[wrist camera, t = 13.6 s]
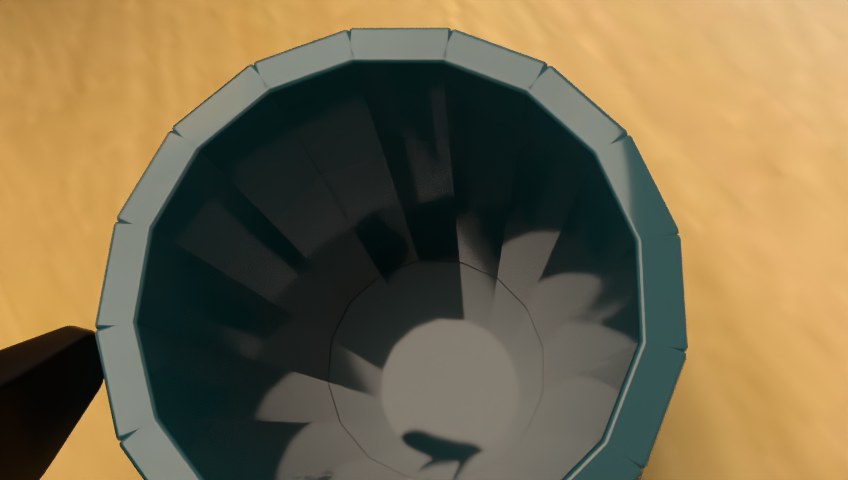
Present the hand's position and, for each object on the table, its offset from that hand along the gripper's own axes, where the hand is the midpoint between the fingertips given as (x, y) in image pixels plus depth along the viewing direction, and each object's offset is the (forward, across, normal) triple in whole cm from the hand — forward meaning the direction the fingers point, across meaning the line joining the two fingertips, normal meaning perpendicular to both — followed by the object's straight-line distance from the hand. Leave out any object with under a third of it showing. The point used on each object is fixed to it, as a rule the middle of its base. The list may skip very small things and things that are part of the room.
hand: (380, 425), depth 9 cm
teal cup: (+7, 0, +4) cm, 8 cm away
